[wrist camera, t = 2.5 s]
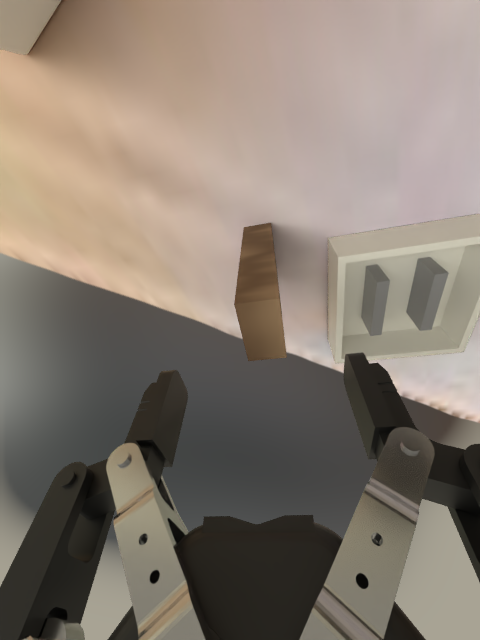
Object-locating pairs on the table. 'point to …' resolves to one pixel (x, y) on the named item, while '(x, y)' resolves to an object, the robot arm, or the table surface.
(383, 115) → the table surface
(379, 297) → the plank slot holder tray
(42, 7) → the medicine bottle
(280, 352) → the wooden plank piece
